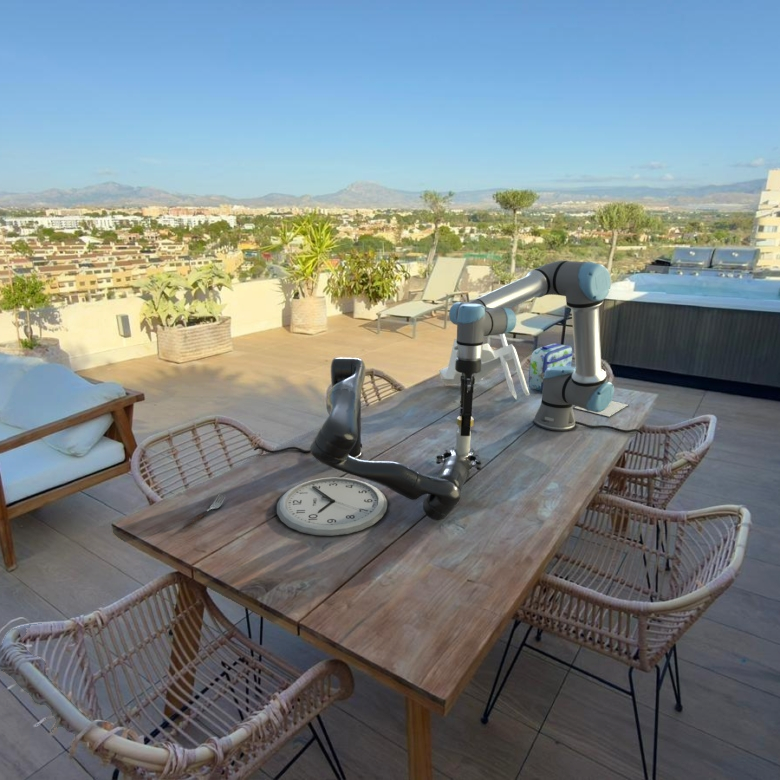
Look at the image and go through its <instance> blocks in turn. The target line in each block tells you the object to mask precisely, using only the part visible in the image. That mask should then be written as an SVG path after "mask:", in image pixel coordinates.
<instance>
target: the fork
mask: <svg viewBox="0 0 780 780" xmlns="http://www.w3.org/2000/svg"><path fill="white" fill-rule="evenodd" d="M226 497H227V495H225V494H222V493H221V494H218V496H217V497H216V498H215V499H214V501H213V503H212V504H211V505H210V506H209V508H208V509H206V510H204V511H202V512H201V513H200V514H198V515H196V516H195V517H194V518H193V519H191V520H190V521H189V522H188V523H186V524H185V525H184V526H183V527H182V529H186V528H188V527H189V526H190V525H191V526H192V524H194V523H195V522H197V521H199V520H200V519H202V518H203V517H204V516H205V515H206V514H207V513H208V512H209V511H211V510H215V509H216V510H217V509H219V508H220V507H221V506H222V505H223V503H224V501H225V499H226Z"/></svg>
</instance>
